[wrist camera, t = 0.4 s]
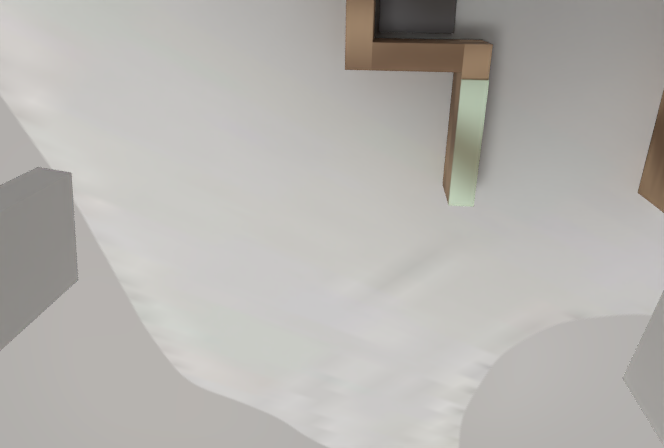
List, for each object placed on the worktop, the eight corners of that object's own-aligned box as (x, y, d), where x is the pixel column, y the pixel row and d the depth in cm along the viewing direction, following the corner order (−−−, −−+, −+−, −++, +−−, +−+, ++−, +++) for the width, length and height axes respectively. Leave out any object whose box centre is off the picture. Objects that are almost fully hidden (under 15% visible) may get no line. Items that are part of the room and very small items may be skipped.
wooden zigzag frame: (355, -183, 30) (349, -211, 26) (766, -191, 28) (827, -222, 24) (346, 180, 39) (342, 200, 35) (661, 193, 37) (694, 216, 33)
